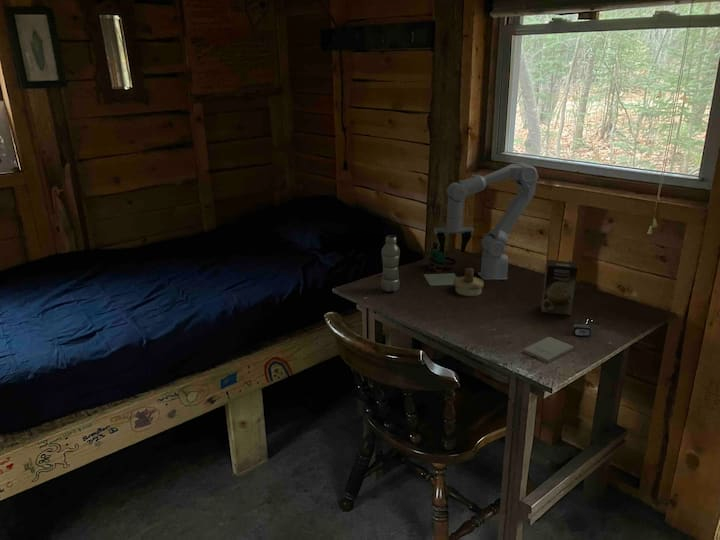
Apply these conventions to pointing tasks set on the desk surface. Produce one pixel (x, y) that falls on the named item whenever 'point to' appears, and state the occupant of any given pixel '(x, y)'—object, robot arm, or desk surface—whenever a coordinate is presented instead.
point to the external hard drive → (548, 349)
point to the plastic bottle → (390, 265)
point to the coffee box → (559, 287)
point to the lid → (468, 281)
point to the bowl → (468, 292)
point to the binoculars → (439, 259)
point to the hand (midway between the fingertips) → (452, 252)
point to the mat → (440, 279)
